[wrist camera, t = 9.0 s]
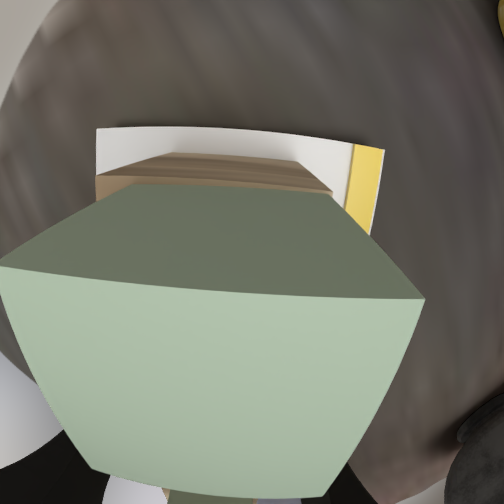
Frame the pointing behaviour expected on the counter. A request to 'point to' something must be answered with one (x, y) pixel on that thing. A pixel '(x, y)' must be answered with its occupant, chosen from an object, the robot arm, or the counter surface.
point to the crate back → (203, 498)
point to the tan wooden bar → (211, 177)
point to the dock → (262, 146)
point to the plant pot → (501, 15)
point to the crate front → (212, 335)
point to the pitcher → (479, 458)
